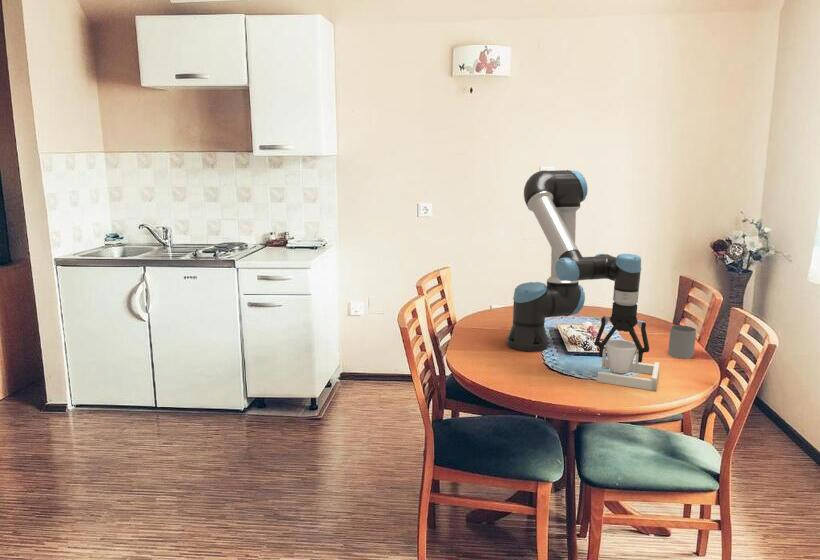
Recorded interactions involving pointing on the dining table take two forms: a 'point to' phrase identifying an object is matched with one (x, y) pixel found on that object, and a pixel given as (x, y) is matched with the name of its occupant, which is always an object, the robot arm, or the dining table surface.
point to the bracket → (630, 380)
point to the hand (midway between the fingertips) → (619, 368)
